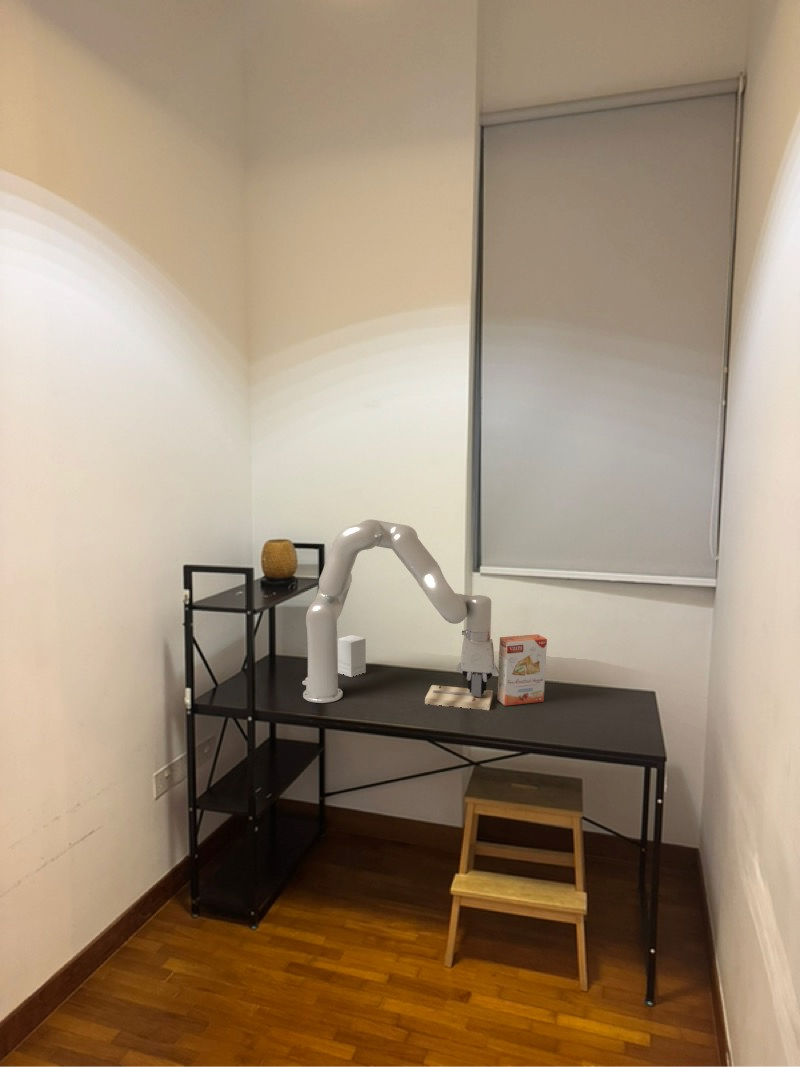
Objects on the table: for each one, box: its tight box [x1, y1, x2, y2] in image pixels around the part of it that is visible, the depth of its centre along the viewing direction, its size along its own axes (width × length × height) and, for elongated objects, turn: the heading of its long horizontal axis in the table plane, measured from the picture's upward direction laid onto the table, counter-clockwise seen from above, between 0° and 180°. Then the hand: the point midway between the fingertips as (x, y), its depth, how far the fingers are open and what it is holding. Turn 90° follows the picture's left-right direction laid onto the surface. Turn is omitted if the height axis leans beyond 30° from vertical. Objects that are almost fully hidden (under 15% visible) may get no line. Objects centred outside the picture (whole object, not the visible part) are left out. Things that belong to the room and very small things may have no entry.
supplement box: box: [338, 634, 367, 678], centre depth 243 cm, size 7×7×13 cm
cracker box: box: [496, 633, 548, 707], centre depth 217 cm, size 14×6×21 cm, turn 109°
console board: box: [424, 684, 494, 711], centre depth 219 cm, size 20×12×2 cm, turn 77°
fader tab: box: [471, 672, 483, 697], centre depth 217 cm, size 3×4×7 cm, turn 167°
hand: (476, 691), depth 217 cm, fingers closed on fader tab, 3 cm apart
